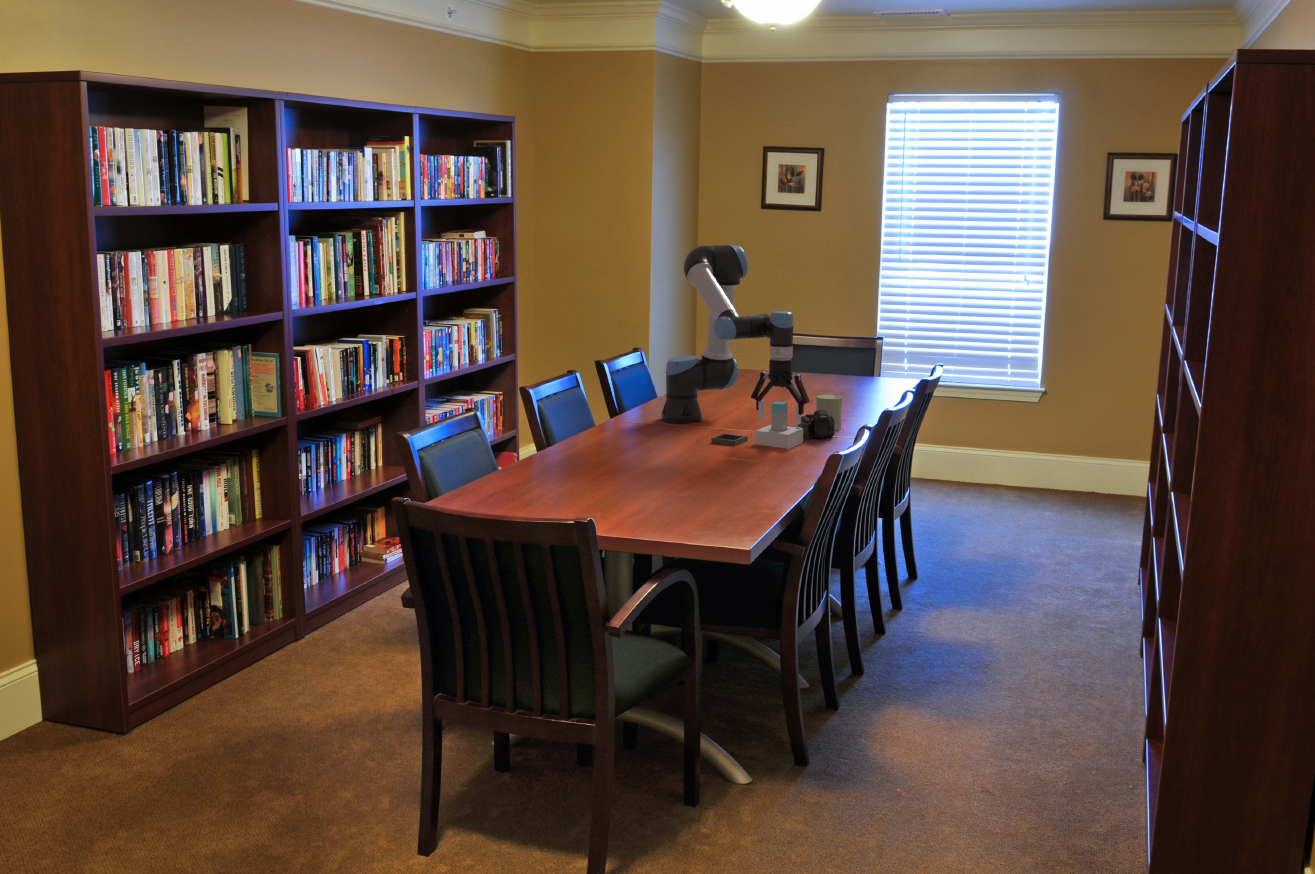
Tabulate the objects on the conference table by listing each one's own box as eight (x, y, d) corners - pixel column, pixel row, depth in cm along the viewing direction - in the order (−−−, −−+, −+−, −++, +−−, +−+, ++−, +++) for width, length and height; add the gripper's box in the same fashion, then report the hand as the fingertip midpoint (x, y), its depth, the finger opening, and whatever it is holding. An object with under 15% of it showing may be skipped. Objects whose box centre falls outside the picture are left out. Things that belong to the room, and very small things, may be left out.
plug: (770, 441, 368) (771, 403, 366) (775, 439, 372) (776, 401, 369) (781, 442, 366) (782, 404, 364) (786, 440, 370) (787, 402, 367)
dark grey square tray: (711, 443, 370) (711, 438, 369) (723, 439, 377) (723, 433, 377) (735, 447, 365) (735, 441, 365) (747, 442, 373) (747, 436, 372)
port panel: (754, 445, 367) (755, 429, 366) (770, 438, 377) (770, 423, 376) (787, 449, 361) (788, 433, 360) (802, 442, 371) (803, 427, 370)
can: (840, 431, 390) (841, 398, 387) (814, 430, 391) (815, 397, 389) (841, 426, 399) (842, 393, 396) (816, 425, 400) (817, 392, 398)
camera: (809, 442, 372) (810, 413, 370) (793, 436, 381) (794, 408, 379) (842, 438, 378) (843, 410, 376) (825, 433, 387) (826, 405, 385)
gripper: (741, 357, 367) (740, 420, 371) (811, 362, 354) (809, 427, 358) (751, 354, 373) (750, 416, 377) (820, 360, 360) (818, 423, 365)
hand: (779, 422), depth 368 cm, fingers open, 13 cm apart
